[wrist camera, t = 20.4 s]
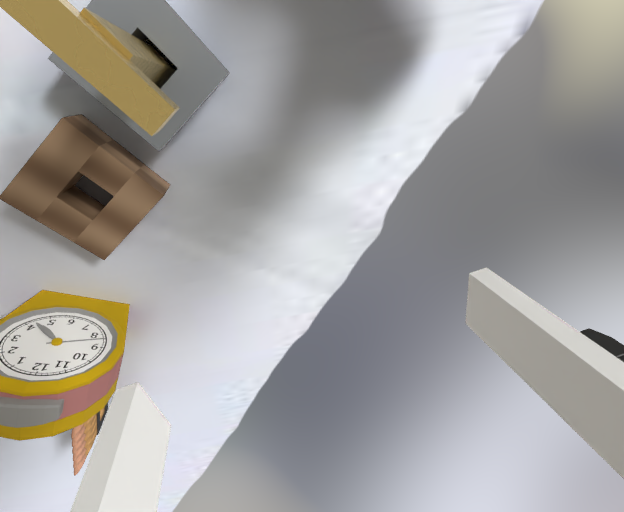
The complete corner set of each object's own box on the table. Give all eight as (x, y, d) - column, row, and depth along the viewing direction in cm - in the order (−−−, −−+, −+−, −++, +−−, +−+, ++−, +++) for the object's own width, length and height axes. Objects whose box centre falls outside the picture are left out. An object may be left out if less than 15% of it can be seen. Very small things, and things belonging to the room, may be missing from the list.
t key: (117, 12, 33) (-18, -84, 15) (202, 97, 38) (179, 105, 20) (99, 35, 34) (-54, -29, 15) (185, 116, 39) (147, 140, 21)
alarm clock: (142, 302, 50) (103, 401, 34) (133, 341, 53) (93, 448, 37) (27, 283, 44) (-83, 391, 28) (24, 327, 47) (-77, 447, 31)
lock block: (81, 114, 36) (62, 117, 32) (170, 184, 42) (163, 195, 38) (23, 185, 38) (-2, 198, 34) (116, 243, 44) (104, 260, 40)
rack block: (139, -27, 32) (125, -45, 28) (228, 74, 38) (229, 72, 34) (70, 62, 34) (47, 58, 30) (166, 144, 40) (158, 151, 36)
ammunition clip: (95, 368, 53) (64, 435, 43) (107, 368, 54) (79, 434, 44) (96, 410, 58) (67, 479, 47) (107, 409, 58) (82, 478, 48)
